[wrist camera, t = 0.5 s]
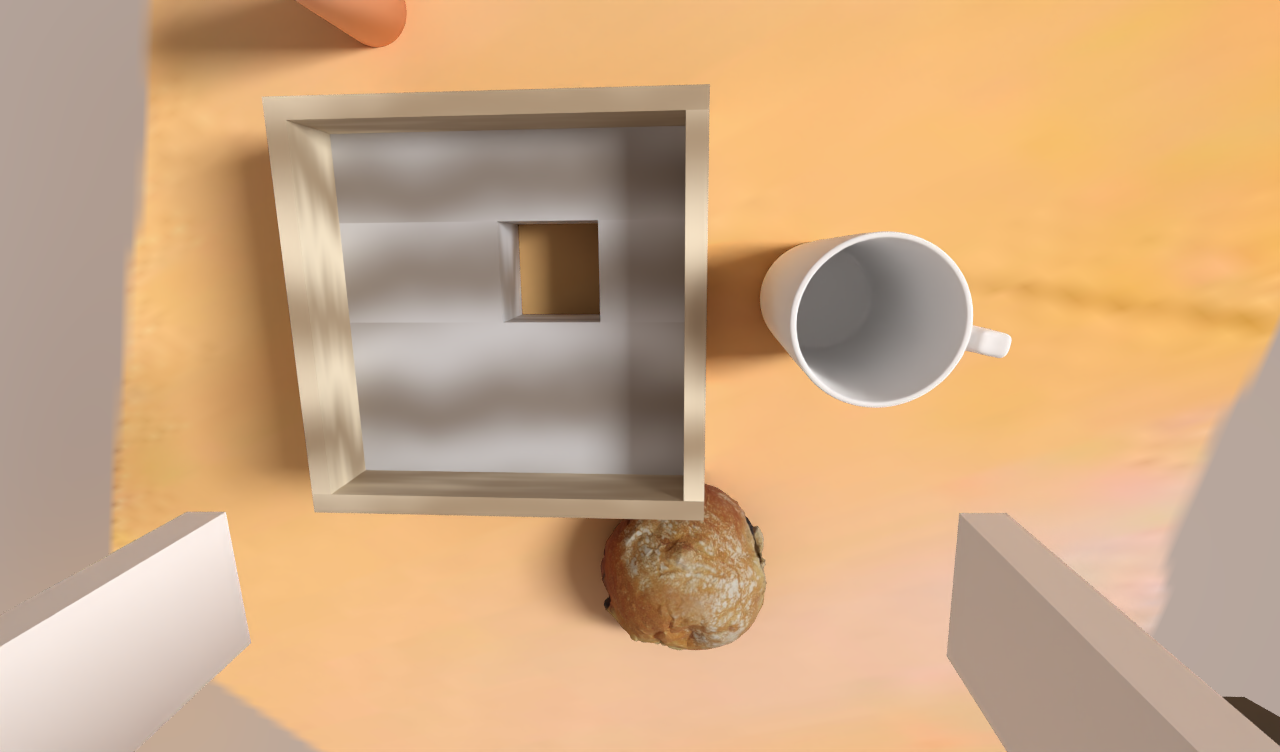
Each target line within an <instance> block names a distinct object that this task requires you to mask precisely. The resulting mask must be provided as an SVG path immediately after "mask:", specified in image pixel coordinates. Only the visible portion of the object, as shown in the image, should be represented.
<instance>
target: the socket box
mask: <svg viewBox="0 0 1280 752" xmlns="http://www.w3.org/2000/svg"><path fill="white" fill-rule="evenodd" d="M709 94H710V84H704V85H668V86H632V87H596V88H560V89H524V90H488V91H452V92H416V93H380V94H343V95H307V96H271V97H262V101H263V109H264V117H265V125H266V133H267V141H268V149H269V157H270V165H271V172H272V180H273V188H274V196H275V204H276V212H277V220H278V228H279V235H280V243H281V251H282V259H283V267H284V275H285V283H286V291H287V299H288V306H289V314H290V322H291V330H292V338H293V346H294V354H295V362H296V369H297V377H298V385H299V393H300V401H301V409H302V417H303V425H304V433H305V440H306V448H307V456H308V464H309V472H310V480H311V488H312V496H313V503H314V511H315V512H328V513H375V514H422V515H468V516H515V517H562V518H609V519H656V520H702V521H704V473H705V397H706V321H707V245H708V170H709ZM580 223H598V242H599V286H600V314H522V299H521V278H520V258H519V237H518V224H580Z"/></svg>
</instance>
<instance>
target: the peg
mask: <svg viewBox="0 0 1280 752" xmlns="http://www.w3.org/2000/svg"><path fill="white" fill-rule="evenodd" d="M295 1H296V2H298V3H300V4H301V5H303V6H304V7H306V8H307V9H309V10H311V11H312V12H314V13H315V14H317V15H318V16H320V17H322V18H323V19H325V20H326V21H328V22H329V23H331V24H333V25H334V26H336V27H337V28H339V29H340V30H342V31H344V32H345V33H347V34H348V35H350V36H351V37H353V38H355V39H356V40H358V41H359V42H361V43H363V44H365V45H367V46H371V47H382V46H386V45H388V44H390V43H392V42H393V41H395V40H396V39H397V38H398V37H399V35H400V34H401V32H402V30H403V28H404V26H405V22H406V5H405V1H404V0H295Z"/></svg>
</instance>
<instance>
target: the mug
mask: <svg viewBox="0 0 1280 752" xmlns="http://www.w3.org/2000/svg"><path fill="white" fill-rule="evenodd" d="M760 307H761V312H762V316H763V318H764V321H765V323H766V325H767V327H768V328H769V330H770V331H771V332H772V334H773V335H774V337H775V338H776V339H777V340H778V341H779V343H780V344H781V345H782V346H783V347H784V349H785V350H786V351H787V352H788V354H789V355H790V356H791V357H792V358H793V360H794V361H795V362H796V363H797V364H798V366H799V367H800V368H801V369H802V370H803V371H804V372H805V373H806V375H807V376H808V377H809V378H810V380H811V381H812V382H813V383H814V384H815V385H816V386H818V387H819V388H820V389H821V390H823V391H824V392H825V393H827V394H828V395H830V396H832V397H834V398H836V399H838V400H840V401H843V402H845V403H849V404H852V405H856V406H862V407H889V406H895V405H899V404H903V403H906V402H909V401H911V400H914V399H916V398H918V397H920V396H922V395H924V394H926V393H927V392H929V391H930V390H932V389H933V388H935V387H936V386H937V385H938V384H940V383H941V382H942V381H943V380H944V379H945V378H946V377H947V376H948V375H949V374H950V373H951V371H952V370H953V369H954V368H955V366H956V365H957V364H958V362H959V361H960V359H961V357H962V355H963V354H964V352H965V351H970V352H975V353H979V354H982V355H987V356H991V357H996V358H1002V357H1004V356H1006V354H1007V353H1008V351H1009V348H1010V345H1011V337H1010V336H1009V335H1008V334H1006V333H1002V332H998V331H994V330H991V329H987V328H982V327H978V326H974V325H972V323H973V306H972V299H971V294H970V291H969V288H968V285H967V282H966V280H965V278H964V276H963V274H962V272H961V271H960V269H959V268H958V266H957V265H956V264H955V262H954V261H953V260H952V259H951V258H950V257H949V256H948V255H947V254H946V253H945V252H944V251H942V250H941V249H940V248H938V247H937V246H935V245H934V244H932V243H930V242H929V241H927V240H924V239H922V238H920V237H917V236H914V235H910V234H906V233H900V232H873V233H862V234H855V235H848V236H842V237H836V238H830V239H823V240H817V241H813V242H808V243H804V244H801V245H798V246H795V247H793V248H791V249H790V250H788V251H786V252H785V253H783V254H782V255H781V256H780V257H779V258H778V259H777V260H776V261H775V262H774V263H773V264H772V265H771V267H770V268H769V270H768V272H767V273H766V275H765V278H764V280H763V283H762V287H761V292H760Z"/></svg>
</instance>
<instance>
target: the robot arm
mask: <svg viewBox="0 0 1280 752" xmlns="http://www.w3.org/2000/svg"><path fill="white" fill-rule="evenodd" d="M250 643H251V641H250V635H249V630H248V625H247V620H246V615H245V610H244V604H243V599H242V594H241V589H240V584H239V578H238V573H237V568H236V563H235V558H234V553H233V547H232V542H231V537H230V532H229V527H228V521H227V516H226V512H186V513H184V514H182V515H180V516H178V517H177V518H175V519H173V520H171V521H169V522H168V523H166V524H164V525H162V526H160V527H158V528H157V529H155V530H153V531H151V532H149V533H148V534H146V535H144V536H142V537H140V538H139V539H137V540H135V541H133V542H131V543H129V544H128V545H126V546H124V547H122V548H120V549H119V550H117V551H115V552H113V553H111V554H109V555H108V556H106V557H104V558H102V559H101V560H99V561H97V562H95V563H93V564H91V565H90V566H88V567H86V568H84V569H82V570H80V571H79V572H77V573H75V574H73V575H71V576H70V577H68V578H66V579H64V580H62V581H61V582H59V583H57V584H55V585H53V586H52V587H50V588H48V589H46V590H44V591H42V592H41V593H39V594H37V595H35V596H34V597H31V598H30V599H28V600H26V601H24V602H22V603H21V604H19V605H17V606H15V607H13V608H12V609H10V610H8V611H6V612H4V613H3V614H1V615H0V752H135V751H136V750H137V749H138V748H139V747H140V746H141V745H142V744H143V743H144V742H146V741H147V740H148V739H149V738H150V737H151V736H152V735H153V734H154V733H155V732H156V731H157V730H158V729H159V728H160V727H161V726H163V724H165V723H166V722H167V721H168V720H169V719H170V718H171V717H172V716H173V715H174V714H175V713H177V712H178V711H179V710H180V709H181V708H182V707H183V706H184V705H185V704H186V703H187V702H188V701H189V700H190V699H192V697H194V696H195V694H197V693H198V692H199V691H200V690H201V689H202V688H203V687H204V686H205V685H206V684H208V683H209V682H210V681H211V680H212V679H213V678H214V677H215V676H216V675H217V674H218V673H219V672H220V671H221V670H223V669H224V668H225V667H226V666H227V665H228V664H229V663H230V662H231V661H232V660H233V659H234V658H235V657H236V656H237V655H239V654H240V653H241V652H242V651H243V650H244V649H245V648H246V647H247V646H248V645H249V644H250ZM947 657H948V659H949V660H950V662H951V664H952V665H953V667H954V668H955V670H956V671H957V673H958V675H959V676H960V678H961V679H962V681H963V683H964V684H965V686H966V687H967V689H968V691H969V692H970V694H971V695H972V697H973V698H974V700H975V702H976V703H977V705H978V706H979V708H980V710H981V711H982V713H983V714H984V716H985V718H986V719H987V721H988V722H989V724H990V725H991V727H992V729H993V730H994V732H995V733H996V735H997V737H998V738H999V740H1000V741H1001V743H1002V745H1003V746H1004V748H1005V749H1006V751H1007V752H1280V717H1279V716H1277V715H1275V714H1274V713H1272V712H1270V711H1268V710H1266V709H1265V708H1263V707H1261V706H1259V705H1257V704H1255V703H1254V702H1252V701H1250V700H1248V699H1247V698H1245V697H1221V696H1220V695H1219V694H1218V693H1217V692H1216V691H1214V690H1213V689H1212V688H1211V687H1210V686H1209V685H1207V684H1206V683H1205V682H1204V681H1203V680H1201V679H1200V678H1199V677H1198V676H1197V675H1196V674H1194V673H1193V672H1192V671H1191V670H1190V669H1189V668H1187V667H1186V666H1185V665H1184V664H1183V663H1182V662H1180V661H1179V660H1178V659H1177V658H1176V657H1175V656H1173V655H1172V654H1171V653H1170V652H1169V651H1167V650H1166V649H1165V648H1164V647H1163V646H1161V645H1160V644H1159V643H1158V642H1157V641H1156V640H1155V639H1153V638H1152V637H1151V636H1150V635H1149V634H1148V633H1146V632H1145V631H1144V630H1143V629H1142V628H1141V627H1139V626H1138V625H1137V624H1136V623H1135V622H1134V621H1132V620H1131V619H1130V618H1129V617H1128V616H1126V615H1125V614H1124V613H1123V612H1122V611H1121V610H1119V609H1118V608H1117V607H1116V606H1115V605H1114V604H1112V603H1111V602H1110V601H1109V600H1108V599H1107V598H1105V597H1104V596H1103V595H1102V594H1101V593H1099V592H1098V591H1097V590H1096V589H1095V588H1094V587H1092V586H1091V585H1090V584H1089V583H1088V582H1087V581H1085V580H1084V579H1083V578H1082V577H1081V576H1080V575H1078V574H1077V573H1076V572H1075V571H1074V570H1073V569H1071V568H1070V567H1069V566H1068V565H1067V564H1065V563H1064V562H1063V561H1062V560H1061V559H1060V558H1058V557H1057V556H1056V555H1055V554H1054V553H1053V552H1051V551H1050V550H1049V549H1048V548H1047V547H1046V546H1044V545H1043V544H1042V543H1041V542H1040V541H1038V540H1037V539H1036V538H1035V537H1034V536H1033V535H1031V534H1030V533H1029V532H1028V531H1027V530H1026V529H1024V528H1023V527H1022V526H1021V525H1020V524H1019V523H1017V522H1016V521H1015V520H1014V519H1013V518H1011V517H1010V516H1009V515H1008V514H1007V513H959V523H958V534H957V545H956V556H955V567H954V579H953V590H952V601H951V612H950V623H949V635H948V646H947Z"/></svg>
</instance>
